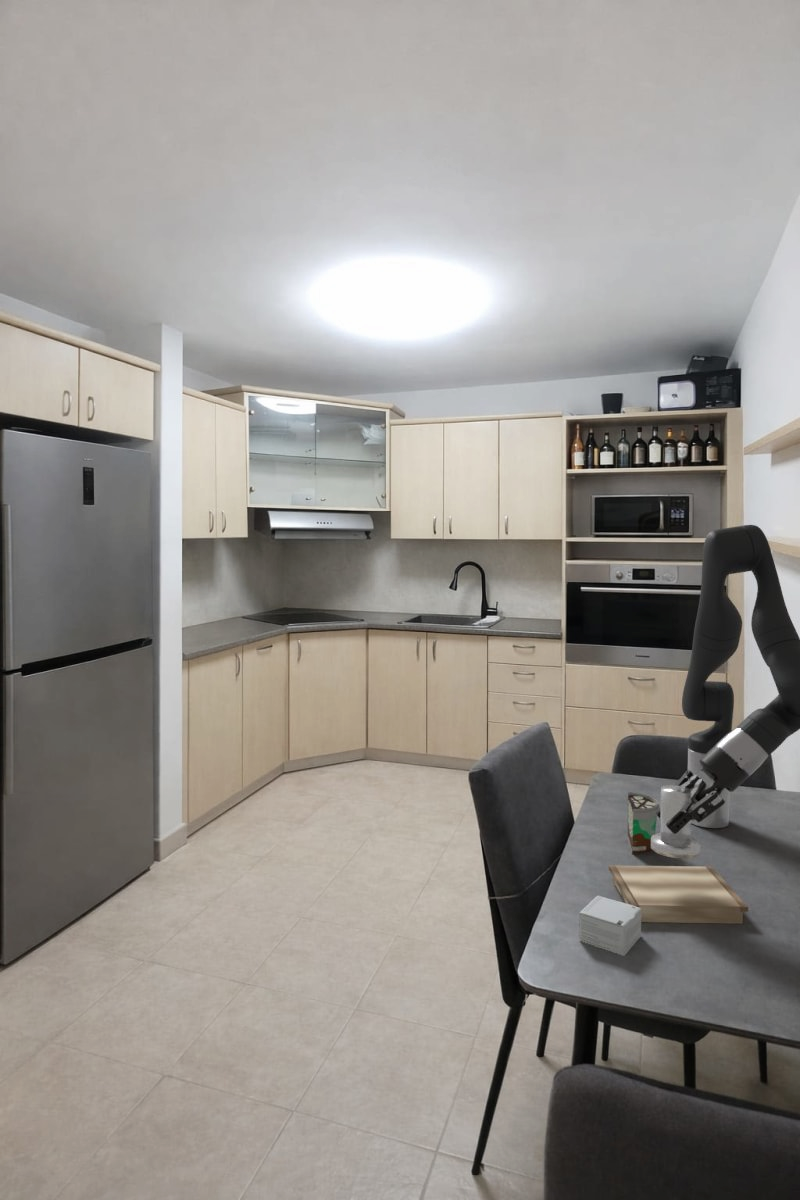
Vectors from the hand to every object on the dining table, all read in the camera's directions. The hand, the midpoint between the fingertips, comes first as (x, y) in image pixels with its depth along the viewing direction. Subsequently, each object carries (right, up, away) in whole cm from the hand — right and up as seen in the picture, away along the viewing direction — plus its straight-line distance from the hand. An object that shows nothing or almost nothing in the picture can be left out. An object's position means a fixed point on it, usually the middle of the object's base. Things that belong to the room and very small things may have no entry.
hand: (665, 823), depth 134 cm
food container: (+5, -13, +26) cm, 29 cm away
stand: (+2, -14, +1) cm, 14 cm away
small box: (-13, -16, -12) cm, 24 cm away
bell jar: (+2, -5, 0) cm, 5 cm away
